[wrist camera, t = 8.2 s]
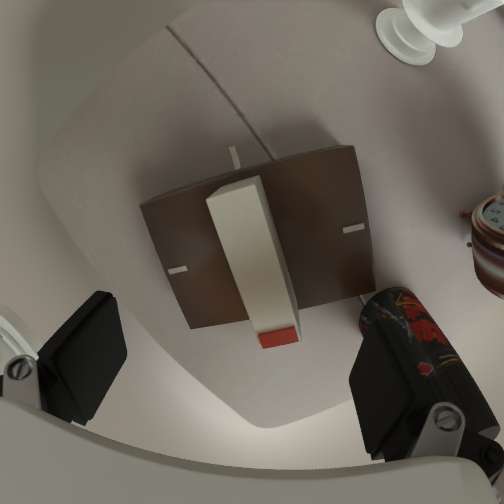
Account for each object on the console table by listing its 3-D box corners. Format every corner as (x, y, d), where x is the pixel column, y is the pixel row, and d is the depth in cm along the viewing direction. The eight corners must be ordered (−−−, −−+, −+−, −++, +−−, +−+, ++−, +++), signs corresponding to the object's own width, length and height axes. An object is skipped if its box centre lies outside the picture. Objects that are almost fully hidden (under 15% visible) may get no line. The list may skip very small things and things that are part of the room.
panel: (205, 323, 24) (197, 346, 21) (149, 176, 19) (129, 182, 17) (366, 289, 22) (378, 310, 19) (336, 123, 17) (348, 119, 14)
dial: (220, 186, 16) (203, 200, 12) (259, 174, 16) (254, 184, 12) (264, 311, 19) (261, 351, 15) (297, 304, 19) (302, 343, 15)
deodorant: (345, 321, 23) (389, 481, 9) (395, 274, 21) (491, 416, 7) (382, 351, 24) (429, 485, 10) (428, 310, 22) (505, 433, 8)
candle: (363, 34, 14) (440, -47, 3) (390, -2, 12) (461, -74, 1) (419, 78, 15) (530, 47, 4) (442, 40, 13) (537, 1, 2)
